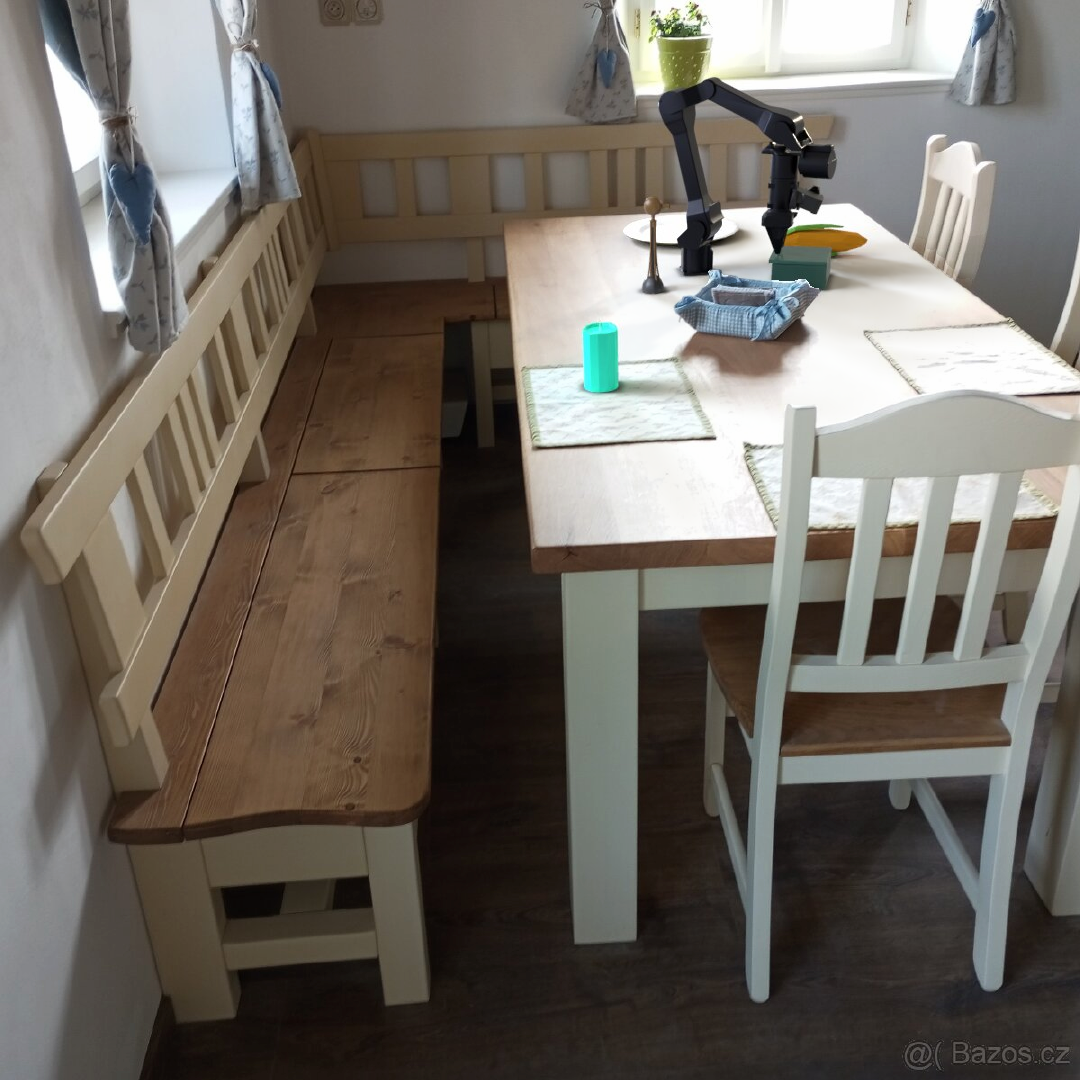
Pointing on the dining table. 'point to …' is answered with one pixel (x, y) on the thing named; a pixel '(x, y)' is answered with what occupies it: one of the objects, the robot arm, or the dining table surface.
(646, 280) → the wooden tabletop sculpture
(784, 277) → the chest
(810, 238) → the corn
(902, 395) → the dining table surface
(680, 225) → the plate
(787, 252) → the lid
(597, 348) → the candle
